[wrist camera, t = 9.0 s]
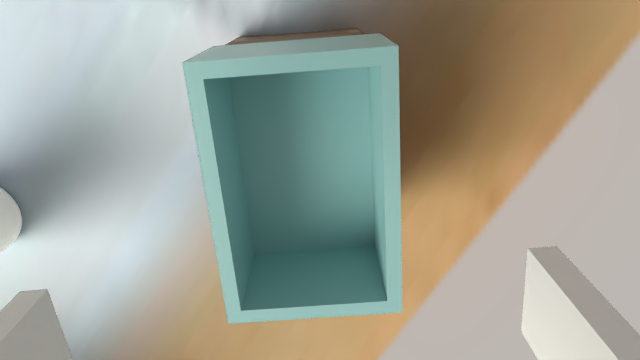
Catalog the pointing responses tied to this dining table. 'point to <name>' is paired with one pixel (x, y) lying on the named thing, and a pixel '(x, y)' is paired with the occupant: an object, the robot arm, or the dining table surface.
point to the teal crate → (302, 174)
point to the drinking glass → (8, 220)
